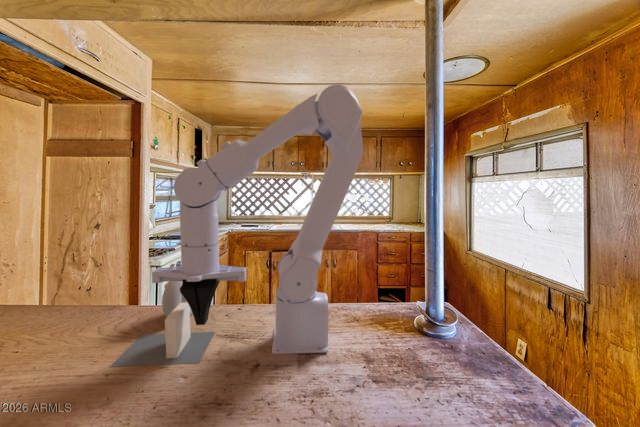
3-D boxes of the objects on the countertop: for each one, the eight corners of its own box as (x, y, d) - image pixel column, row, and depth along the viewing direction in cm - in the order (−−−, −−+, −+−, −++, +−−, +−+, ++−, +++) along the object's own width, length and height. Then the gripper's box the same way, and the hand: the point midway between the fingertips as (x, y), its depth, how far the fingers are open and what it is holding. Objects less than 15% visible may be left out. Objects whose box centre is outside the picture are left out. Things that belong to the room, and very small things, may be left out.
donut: (174, 331, 52) (172, 280, 51) (158, 329, 52) (156, 279, 51) (206, 308, 62) (205, 265, 60) (192, 307, 62) (191, 264, 61)
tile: (190, 337, 49) (189, 302, 49) (176, 357, 44) (175, 319, 43) (181, 337, 49) (180, 302, 49) (166, 358, 43) (164, 319, 43)
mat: (215, 333, 51) (215, 331, 51) (199, 365, 42) (199, 362, 42) (141, 336, 50) (141, 334, 50) (109, 369, 41) (109, 366, 41)
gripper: (140, 249, 40) (144, 336, 42) (241, 249, 42) (241, 333, 43) (162, 239, 47) (165, 314, 49) (248, 239, 49) (248, 312, 50)
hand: (202, 322), depth 46 cm, fingers closed
